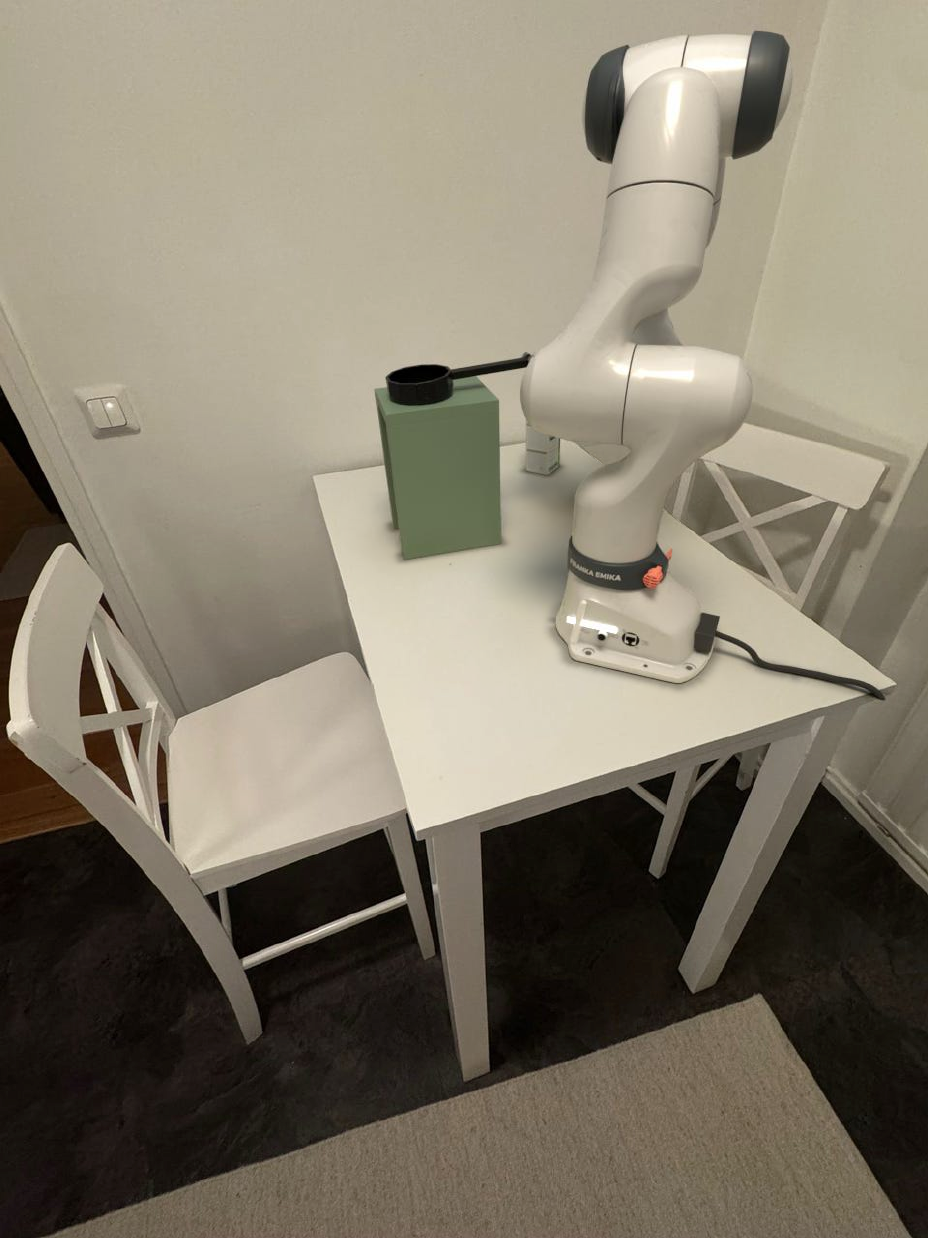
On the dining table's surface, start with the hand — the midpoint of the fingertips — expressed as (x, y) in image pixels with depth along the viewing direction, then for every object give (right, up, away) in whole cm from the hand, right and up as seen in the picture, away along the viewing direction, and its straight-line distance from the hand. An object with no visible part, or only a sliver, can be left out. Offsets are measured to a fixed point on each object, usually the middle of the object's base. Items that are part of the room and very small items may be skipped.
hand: (525, 358), depth 99 cm
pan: (-9, -4, 0) cm, 10 cm away
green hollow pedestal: (-14, -27, +15) cm, 34 cm away
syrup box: (+7, -9, +37) cm, 39 cm away
